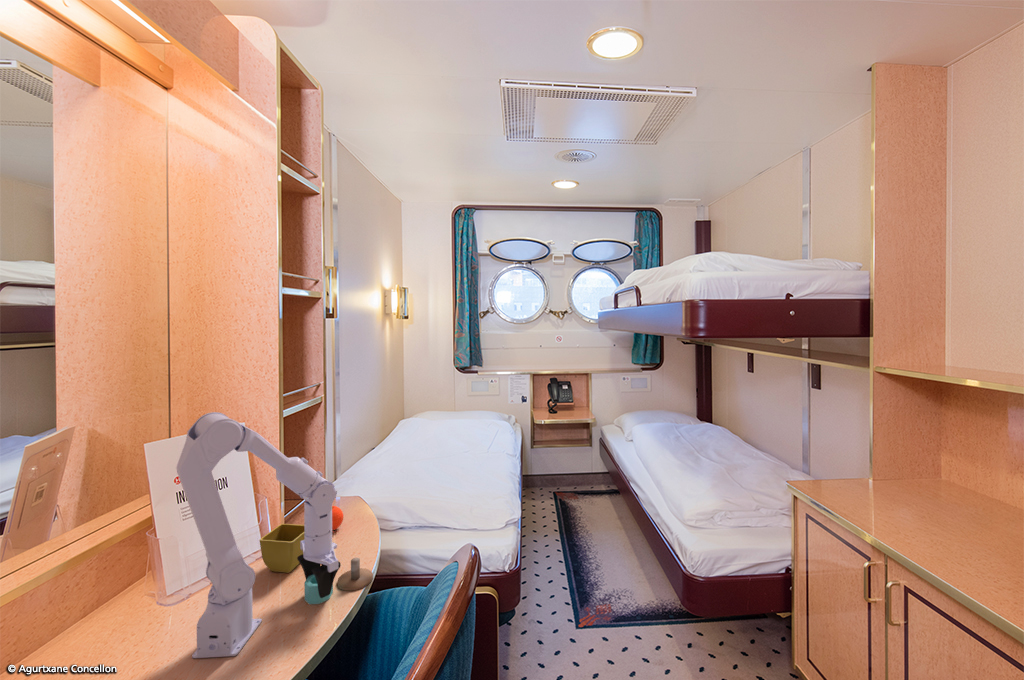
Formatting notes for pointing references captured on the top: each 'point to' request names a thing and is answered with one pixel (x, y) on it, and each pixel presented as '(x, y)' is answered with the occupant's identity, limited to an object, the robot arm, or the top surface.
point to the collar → (313, 591)
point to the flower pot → (282, 547)
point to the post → (355, 577)
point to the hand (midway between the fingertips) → (318, 590)
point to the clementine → (336, 517)
